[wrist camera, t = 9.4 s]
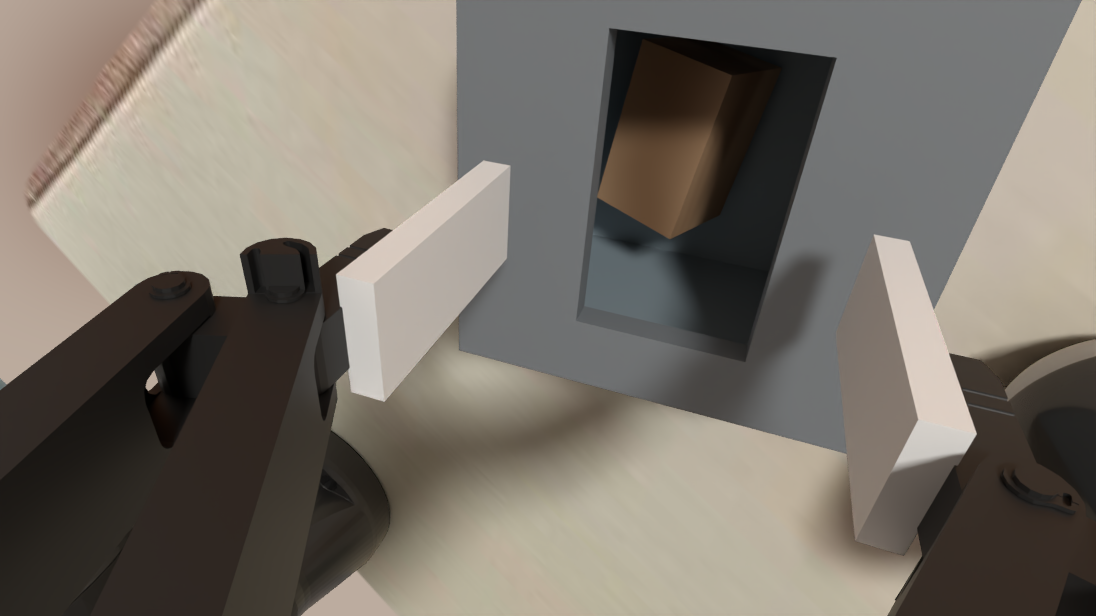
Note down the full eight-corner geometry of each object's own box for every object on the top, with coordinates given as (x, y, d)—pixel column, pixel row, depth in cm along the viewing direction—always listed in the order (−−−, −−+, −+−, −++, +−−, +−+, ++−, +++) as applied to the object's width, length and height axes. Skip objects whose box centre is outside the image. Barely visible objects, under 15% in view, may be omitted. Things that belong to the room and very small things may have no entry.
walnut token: (651, 178, 28) (597, 196, 25) (700, 35, 24) (643, 38, 21) (719, 215, 26) (669, 239, 23) (781, 67, 23) (732, 75, 20)
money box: (546, 239, 31) (459, 350, 23) (571, -96, 24) (455, -103, 16) (844, 303, 28) (862, 458, 20) (983, -61, 21) (1103, -47, 12)
